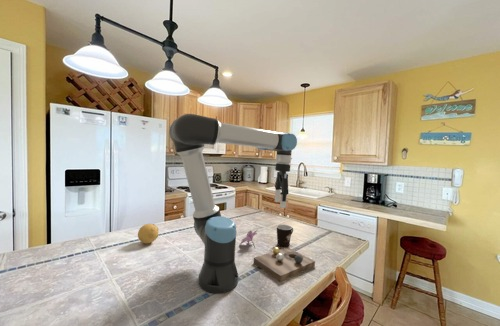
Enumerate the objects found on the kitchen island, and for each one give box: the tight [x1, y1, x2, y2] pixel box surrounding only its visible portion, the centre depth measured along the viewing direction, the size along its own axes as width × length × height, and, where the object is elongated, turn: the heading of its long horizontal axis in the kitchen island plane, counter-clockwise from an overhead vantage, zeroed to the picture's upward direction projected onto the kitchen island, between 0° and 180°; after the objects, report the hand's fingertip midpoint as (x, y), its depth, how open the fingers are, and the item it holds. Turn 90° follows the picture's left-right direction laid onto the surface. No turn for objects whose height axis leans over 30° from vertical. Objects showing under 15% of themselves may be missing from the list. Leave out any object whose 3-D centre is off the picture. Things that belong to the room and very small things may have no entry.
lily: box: [239, 229, 258, 248], centre depth 114 cm, size 12×12×10 cm
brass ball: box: [272, 246, 280, 255], centre depth 101 cm, size 3×3×3 cm
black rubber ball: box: [295, 255, 302, 263], centre depth 94 cm, size 3×3×3 cm
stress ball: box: [137, 223, 160, 245], centre depth 112 cm, size 10×10×10 cm
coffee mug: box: [276, 224, 294, 248], centre depth 119 cm, size 12×9×10 cm
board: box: [253, 247, 316, 283], centre depth 97 cm, size 22×17×2 cm
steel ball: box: [276, 253, 284, 262], centre depth 95 cm, size 3×3×3 cm
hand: (279, 204), depth 110 cm, fingers open, 13 cm apart
